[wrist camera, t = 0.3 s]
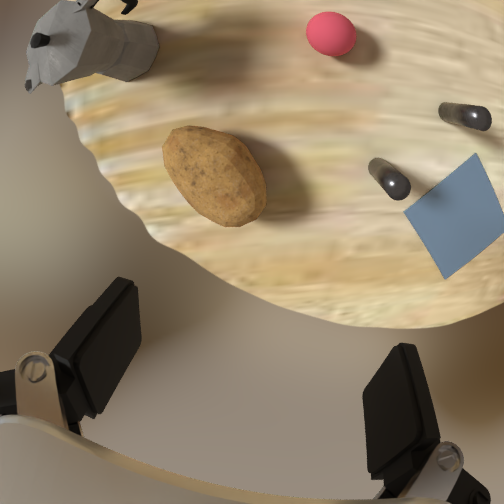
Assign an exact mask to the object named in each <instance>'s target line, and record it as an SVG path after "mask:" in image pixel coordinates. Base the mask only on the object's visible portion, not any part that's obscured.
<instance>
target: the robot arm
mask: <svg viewBox="0 0 504 504" xmlns="http://www.w3.org/2000/svg"><path fill="white" fill-rule="evenodd" d="M140 344H141V327H140V314H139V299H138V288H137V287H136V286H134V282H133V281H131V280H128V279H125V278H122V277H117V278H116V279H115V280H114V281H113V282H112V283H111V284H110V286H109V287H108V288H107V289H106V290H105V291H104V293H103V294H102V295H101V296H100V297H99V298H98V299H97V301H96V302H95V303H94V304H93V305H91V306H89V307H88V308H87V309H86V310H85V311H84V312H83V314H82V315H81V316H80V317H79V318H78V319H77V321H76V322H75V323H74V325H72V327H71V328H70V329H69V330H68V332H67V333H66V334H65V336H63V338H62V339H61V340H60V342H59V343H58V344H57V345H56V347H55V348H54V349H53V351H52V352H51V353H50V354H49V355H47V354H45V353H42V352H37V351H35V352H34V351H33V352H30V353H27V354H25V355H24V356H22V357H21V358H20V359H19V360H18V362H17V365H16V368H15V369H14V370H9V371H4V372H0V504H490V501H491V498H490V493H489V491H488V490H487V489H486V487H484V486H483V485H482V484H481V483H480V482H479V481H477V480H476V479H475V478H474V477H473V476H471V475H470V474H469V473H468V472H466V471H465V470H464V469H463V464H464V457H463V453H462V451H461V449H460V448H459V447H458V446H457V445H456V444H454V443H452V442H449V441H445V442H441V443H440V438H441V437H440V432H439V428H438V423H437V419H436V415H435V411H434V407H433V403H432V399H431V396H430V392H429V388H428V384H427V381H426V377H425V374H424V370H423V367H422V364H421V361H420V357H419V354H418V351H417V348H416V346H415V345H414V344H407V343H399V344H398V345H397V346H394V347H393V348H392V350H391V351H390V353H389V354H388V356H387V358H386V359H385V360H384V362H383V363H382V365H381V366H380V368H379V369H378V371H377V372H376V374H375V375H374V376H373V378H372V379H371V381H370V382H369V384H368V385H367V386H366V388H365V389H364V391H363V408H364V420H365V433H366V448H367V468H368V472H369V473H371V480H383V479H384V486H383V487H382V489H381V490H380V491H379V493H378V494H377V495H376V496H375V497H374V498H373V499H372V500H371V499H370V500H369V499H368V500H335V499H333V500H332V499H312V498H299V497H289V496H279V495H271V494H265V493H258V492H252V491H246V490H241V489H236V488H231V487H226V486H221V485H217V484H212V483H209V482H204V481H201V480H197V479H193V478H189V477H186V476H182V475H179V474H176V473H173V472H169V471H166V470H163V469H160V468H157V467H154V466H151V465H149V464H145V463H143V462H140V461H138V460H135V459H132V458H130V457H128V456H125V455H123V454H120V453H118V452H115V451H113V450H110V449H108V448H106V447H103V446H101V445H99V444H97V443H94V442H92V441H90V440H88V439H86V438H84V435H83V431H82V428H81V424H80V421H81V420H82V418H83V416H84V415H86V416H88V417H90V418H92V419H95V417H96V415H97V413H98V414H101V413H102V412H103V411H104V409H105V406H106V405H107V403H108V401H109V400H110V398H111V396H112V394H113V392H114V391H115V389H116V387H117V385H118V383H119V382H120V380H121V378H122V376H123V375H124V373H125V371H126V369H127V367H128V366H129V364H130V362H131V360H132V359H133V357H134V355H135V353H136V352H137V350H138V348H139V346H140Z"/></svg>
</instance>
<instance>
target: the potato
mask: <svg viewBox="0 0 504 504" xmlns="http://www.w3.org/2000/svg"><path fill="white" fill-rule="evenodd" d="M162 150H163V158H164V165H165V167H166V169H167V171H168V173H169V175H170V177H171V179H172V181H173V182H174V184H175V185H176V187H177V188H178V190H179V191H180V193H181V194H182V195H183V196H184V198H185V199H186V200H187V202H188V203H189V204H190V205H191V206H192V207H193V208H194V209H195V210H196V211H197V212H198V213H199V214H201V215H203V216H204V217H206V218H208V219H210V220H211V221H213V222H215V223H217V224H219V225H222V226H224V227H241V226H243V225H245V224H247V223H249V222H252V221H254V220H256V219H257V218H258V216H259V215H260V213H261V212H262V210H263V209H264V207H265V206H266V204H267V203H266V182H265V180H264V177H263V175H262V172H261V169H260V168H259V166H258V164H257V163H256V161H255V159H254V158H253V156H252V155H251V153H250V151H249V150H248V148H247V147H246V145H244V144H243V143H242V142H241V141H239V140H238V139H237V138H236V137H234V136H233V135H229V134H226V133H223V132H219V131H216V130H212V129H209V128H205V127H198V126H185V127H181V128H177V129H174V130H172V132H171V133H170V135H169V136H168V138H167V140H166V141H165V143H164V145H163V146H162Z"/></svg>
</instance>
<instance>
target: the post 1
mask: <svg viewBox="0 0 504 504" xmlns="http://www.w3.org/2000/svg"><path fill="white" fill-rule="evenodd" d="M368 170H369V173H370V174H371V175H372V176H373V178H374V179H375V180H376V181H377V182H378V183H379V184H380V186H381V187H382V188H383V189H384V190H385V191H386V193H387V194H388V195H389V196H390V197H391V198H392V199H394V200H403V199H405V198H406V197H407V196H408V195H409V193H410V190H411V185H410V182H409V180H408V179H407V178H406V177H405V176H404V175H402V174H401V173H400V172H399V171H397V170H396V169H395V168H394V167H392V166H391V165H390V164H389V163H387V162H386V161H385V160H383V159H382V158H374V159H373V160H371V161H370V163H369V166H368Z"/></svg>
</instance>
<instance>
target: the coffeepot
mask: <svg viewBox="0 0 504 504" xmlns="http://www.w3.org/2000/svg"><path fill="white" fill-rule="evenodd" d="M98 1H99V0H77V1H76V2H74V1H64V0H61V1H60V2H58V3H57V4H56V5H55V6H54V7H52V8H51V9H50V10H49V11H48V12H47V13H46V14H45V15H44V16H42V17H41V18H40V19H39V20H38V21H37V24H36V26H35V29H34V32H33V34H32V37H31V40H30V43H29V45H28V48H27V51H26V53H27V58H28V63H29V68H28V71H27V75H26V79H25V80H26V82H25V88H26V90H27V91H28V92H29V93H32V91H33V90H34V89H35V88H36V87H37V86H39V85H40V84H42V83H46V84H49V85H51V86H53V85H56V84H60V83H64V82H67V81H71V80H75V79H79V78H82V77H87V76H90V75H92V74H94V73H98V74H102V75H105V76H109V77H112V78H115V79H119V80H122V81H125V82H128V81H130V80H132V79H134V78H136V77H138V76H140V75H141V74H143V73H145V72H147V71H148V70H149V69H150V67H151V65H152V63H153V61H154V59H155V57H156V54H157V51H158V49H159V43H158V39H157V36H156V34H155V32H154V29H153V26H151V25H148V24H144V23H140V22H136V21H132V20H113V19H112V18H110V17H108V16H106V15H105V14H103V13H101V12H99V11H98V10H96V9H94V8H93V7H94V6H95V5H96V3H97V2H98ZM121 1H122V2H124V3H126V4H127V5H126V7H125V8H124V10H123V11H122V12H121V14H123V15H126V14H128V13H129V12H130V11H131V10H133V9H134V8H135V7H136V5H137V3H138V0H121Z"/></svg>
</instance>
